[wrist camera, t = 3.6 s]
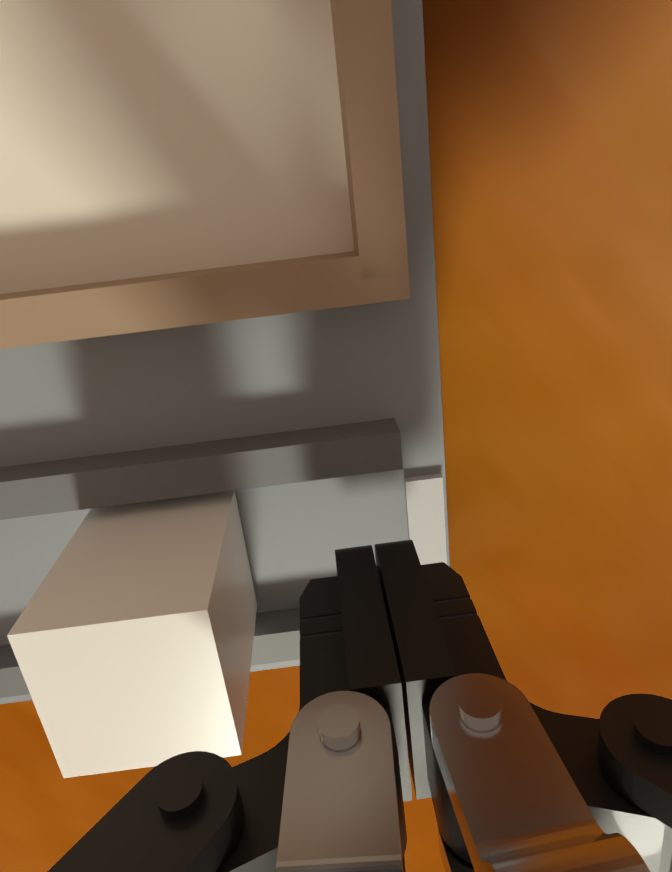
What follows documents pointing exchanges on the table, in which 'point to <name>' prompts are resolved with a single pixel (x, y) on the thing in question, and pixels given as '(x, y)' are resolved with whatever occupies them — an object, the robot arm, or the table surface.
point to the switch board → (217, 284)
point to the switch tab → (143, 636)
